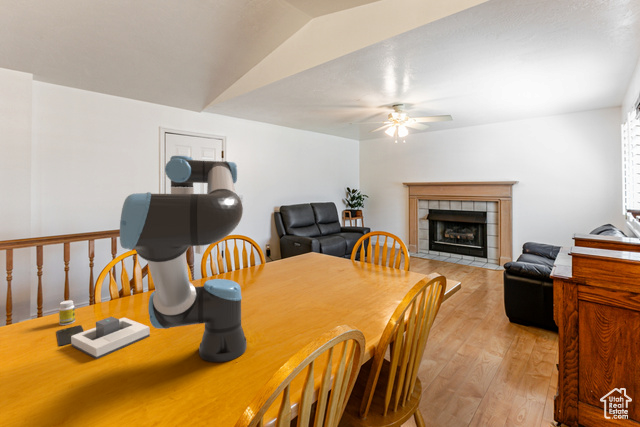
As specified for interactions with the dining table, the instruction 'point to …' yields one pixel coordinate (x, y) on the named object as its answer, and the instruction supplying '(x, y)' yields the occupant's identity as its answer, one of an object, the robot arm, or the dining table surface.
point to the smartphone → (67, 334)
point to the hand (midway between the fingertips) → (183, 256)
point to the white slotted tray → (110, 339)
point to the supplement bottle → (66, 312)
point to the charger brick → (107, 326)
